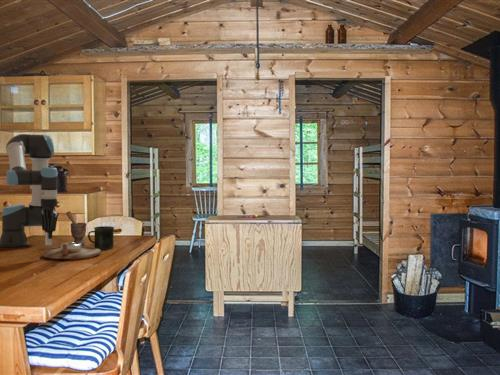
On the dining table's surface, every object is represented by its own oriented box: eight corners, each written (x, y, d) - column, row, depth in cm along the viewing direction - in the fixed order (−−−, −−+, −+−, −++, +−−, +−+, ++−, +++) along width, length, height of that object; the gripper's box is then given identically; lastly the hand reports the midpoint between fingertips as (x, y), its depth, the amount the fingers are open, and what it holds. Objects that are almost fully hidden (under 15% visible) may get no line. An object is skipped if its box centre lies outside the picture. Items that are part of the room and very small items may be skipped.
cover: (57, 253, 228) (57, 243, 228) (64, 249, 238) (64, 240, 238) (78, 253, 229) (78, 243, 229) (83, 249, 239) (83, 240, 239)
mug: (111, 249, 251) (112, 228, 251) (85, 249, 250) (85, 228, 250) (116, 246, 262) (116, 226, 262) (90, 246, 261) (90, 226, 260)
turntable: (34, 258, 218) (34, 244, 218) (54, 248, 246) (54, 236, 246) (92, 259, 221) (92, 244, 221) (106, 249, 249) (106, 236, 248)
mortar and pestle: (63, 246, 259) (63, 212, 258) (66, 244, 267) (66, 210, 266) (84, 246, 261) (84, 212, 260) (87, 243, 269) (87, 210, 269)
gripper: (34, 197, 224) (34, 244, 225) (49, 199, 217) (49, 247, 218) (48, 196, 230) (47, 242, 232) (63, 198, 223) (63, 245, 225)
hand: (48, 244), depth 225 cm, fingers closed
